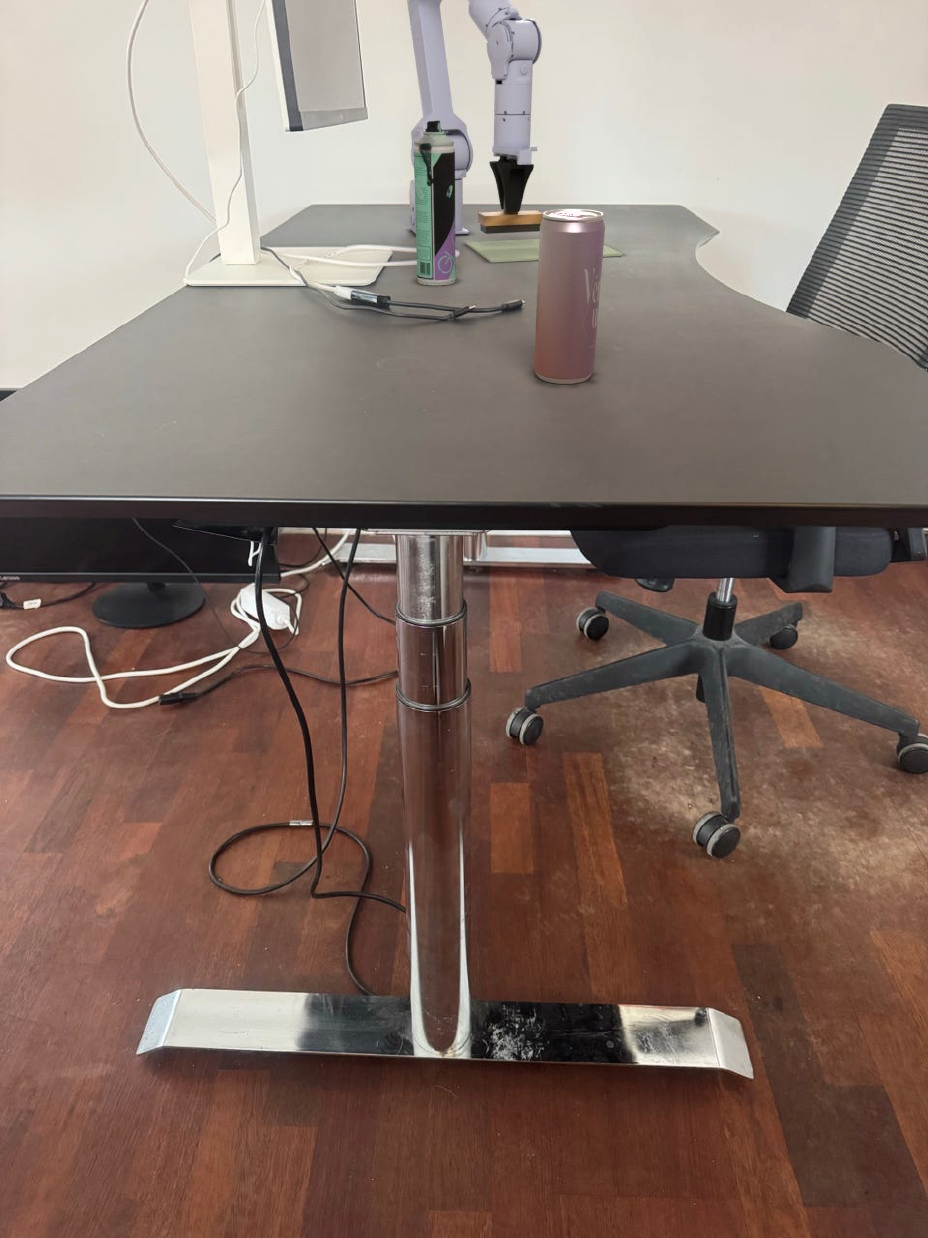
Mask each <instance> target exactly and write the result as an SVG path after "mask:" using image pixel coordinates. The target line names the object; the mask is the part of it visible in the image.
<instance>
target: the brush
mask: <svg viewBox="0 0 928 1238" xmlns="http://www.w3.org/2000/svg"><path fill="white" fill-rule="evenodd" d="M543 213H544V212H541V211H540V210H536V209H533V210H531V209H530V210H520V211H519V212H506V208H505V201H504V210H503V211H484V212H483V211H481V212H478V213H477V218H478V219H477V223H479V225H480V226H479V227H480V228H479V230H480V231H481V232H482V233H484V234H485V235H491V234H514V233H515V234H516V233H534V232H535V233H536V232H540V225H541V222H542V219H543V216H542V215H543Z"/></svg>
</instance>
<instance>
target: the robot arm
mask: <svg viewBox="0 0 928 1238" xmlns="http://www.w3.org/2000/svg"><path fill="white" fill-rule="evenodd" d="M406 1H407V2H406V3H407V10H408V18H409V24H410V31H411V32H410V33H411V38H412V39H411V40H412V46H413V54H414V60H415V61H414V62H415V68H416V76H417V82H418V90H419V97H420V98H419V99H420V104H421V105H420V106H421V112H422V117H421V119H420V120H419V121H418V122H417V123H416V124H415V125H414V126H413V128H412V130H410V131H411V132H410V137H411V149H410V160H411V164H412V168H414V147H415V144H414V142H415V141H417V140H418V139H419V138H420V137H421V136H423V135H424V134H423V132H424V131H425V129H427V122H428V121H440V128H442V131H444V132H445V134H444V135H446V136H447V137H448V138H449V139H450V140H451V141H454V144H453V146H454V148H455V235H469V234H470V231H469V230H468V229H466V227H464V210H463V209H464V191H463V190H464V179H463V178H467V173H468V172H469V171H470V169H471V168H472V165H473V161H474V149H473V144H472V143H471V139H470V137H469V134H468V127H467V124H466V123H465V121H463V119H461V118H460V117H459V116H458V115H457V114H455V112H454V108H453V101H452V94H451V93H452V92H451V84H450V77H449V69H448V61H447V53H446V45H445V37H444V30H443V21H442V13H441V4H442V2H443V0H406ZM467 2H468V15H469V17H470V19H471V20H472V22H473V23H474V25H475V26H476V27H477V29H478V30H479V31H480V33H481V35H482V36H483V38H484V39H485V40H486V41H487V42H486V52H487V57H488V59H489V62H490V74H491V75H492V76H491V77H492V79H493V80H494V95H493V97H494V99H493V100H494V101H493V102H494V103H493V104H494V105H493V107H494V110H493V113H494V114H493V145H492V151H491V152H492V153H493V154H492V156H493V157H496V158H498V157H499V159H498V160H491V161H490V160H489V166H490V169H491V171H492V174H493V176H494V179H495V184H496V188H497V195H498V200H499V205H500V209H501V210H503V211H504V201H505V208H506V212H519V211H521V208H522V203H523V199H524V196H525V195H524V194H525V191H526V187H527V184H528V181H529V179H530V176H531V174H532V172H533V171H534V167H535V164H534V163H532V155H533V154H532V153H533V152H537V151H538V146H537V145H531V132H532V131H531V127H532V126H531V125H532V103H533V101H532V100H533V99H532V98H533V73H534V71H533V69H534V64H536V63H537V61H538V60H539V58H540V56H541V53H542V47H543V36H542V31H541V29H540V26H539V25H538V23H537V20H536V19H533V18H525V17H523V16H521V15H520V14H519V10H518V9H517V8H516V7H514V5H513V4H512V3H511V1H510V0H467ZM408 193H409V194H408V195H409V222H410V225H409V230H410V231H411V232H412V233H414V234H415V235H416V215H415V180H414V179H412V180H410V182H409V192H408Z"/></svg>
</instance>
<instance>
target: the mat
mask: <svg viewBox="0 0 928 1238" xmlns="http://www.w3.org/2000/svg"><path fill="white" fill-rule="evenodd" d="M465 245H466V246H467V247H468V248H470V249H471V250H473V251H474V252H475V253H476V254H478V255H479V256H480V257H482V258H484V259H485V260H486V261H488V262H489V263H492V264H493V263H511V262H512V263H513V262H530V261H531V262H532V261H539V238H526V239H505V240H504V239H503V240H502V239H501V240H485V241H484V240H483V241H466V242H465ZM608 257H610V258H611V257H623V253H622V252H621V251H619V250H616V249H614V248H613V247H610V246H608V245H606V244H604V249H603V258H608Z"/></svg>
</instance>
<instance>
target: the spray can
mask: <svg viewBox="0 0 928 1238" xmlns="http://www.w3.org/2000/svg"><path fill="white" fill-rule="evenodd" d="M423 134H424V135H423V136H421V137H420V138H419V139H418V140H417V141H415V142H414V144H415V147H414V167H413V173H414V174H413V178H414V179H413V180H415V215H416V234H415V243H416V244H415V245H416V251H415V252H416V279H417V283H419V284H420V285H425V286H447V285H452V284H455V283H456V277H457V275H456V273H457V272H456V268H457V267H456V264H457V263H456V234H455V148H454V146H453V144H454V141H451V140H450V139H449V138H448V137H447V136H446V135H444V134H445V132H444V131H442V128H440V121H428V122H427V129H425V131H424V132H423Z"/></svg>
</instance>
